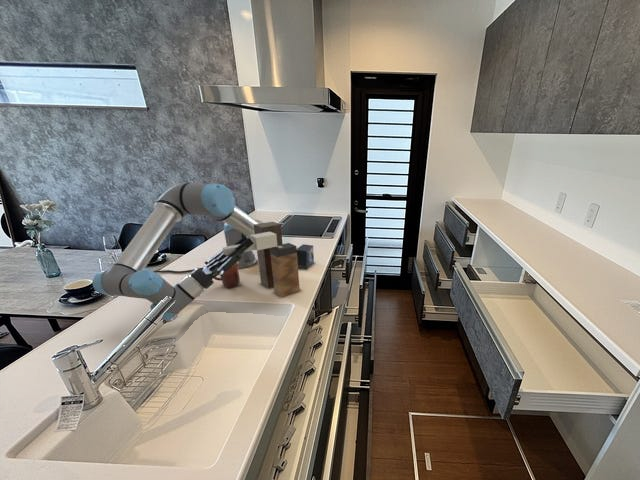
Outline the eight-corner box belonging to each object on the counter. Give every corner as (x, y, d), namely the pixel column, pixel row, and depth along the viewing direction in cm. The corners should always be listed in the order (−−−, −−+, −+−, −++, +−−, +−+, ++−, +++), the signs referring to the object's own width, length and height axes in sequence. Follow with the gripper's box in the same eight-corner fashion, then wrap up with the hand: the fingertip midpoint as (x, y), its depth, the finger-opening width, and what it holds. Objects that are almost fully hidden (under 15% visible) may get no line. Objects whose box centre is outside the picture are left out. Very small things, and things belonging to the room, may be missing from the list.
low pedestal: (281, 297, 129) (277, 257, 122) (274, 292, 133) (270, 253, 126) (299, 290, 135) (296, 252, 128) (292, 286, 139) (289, 249, 132)
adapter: (277, 257, 122) (276, 249, 121) (270, 253, 126) (269, 246, 125) (296, 252, 128) (296, 245, 127) (289, 249, 132) (288, 242, 131)
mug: (240, 280, 144) (237, 259, 140) (243, 287, 137) (239, 266, 133) (213, 284, 139) (208, 263, 135) (213, 291, 132) (209, 270, 128)
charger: (228, 256, 108) (225, 243, 106) (222, 253, 112) (220, 240, 110) (277, 246, 121) (276, 234, 119) (271, 243, 124) (270, 231, 122)
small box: (307, 269, 158) (306, 250, 154) (295, 268, 159) (294, 249, 155) (314, 263, 168) (313, 244, 164) (303, 261, 169) (302, 243, 165)
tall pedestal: (268, 288, 137) (261, 227, 126) (261, 283, 141) (253, 224, 130) (286, 283, 143) (280, 224, 131) (278, 278, 147) (272, 221, 136)
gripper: (197, 282, 113) (246, 242, 122) (212, 296, 103) (264, 251, 112) (182, 268, 108) (234, 227, 117) (197, 282, 98) (252, 236, 107)
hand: (249, 239), depth 115 cm, fingers closed on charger, 3 cm apart
